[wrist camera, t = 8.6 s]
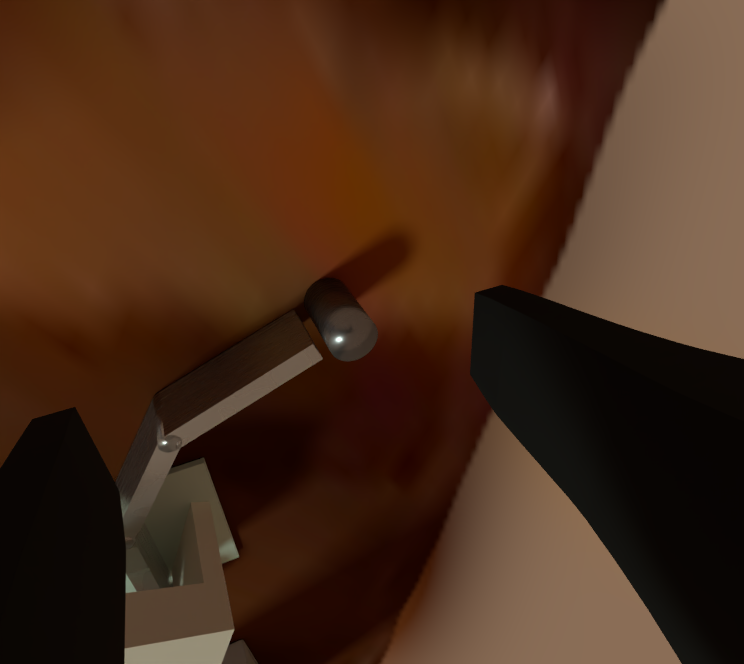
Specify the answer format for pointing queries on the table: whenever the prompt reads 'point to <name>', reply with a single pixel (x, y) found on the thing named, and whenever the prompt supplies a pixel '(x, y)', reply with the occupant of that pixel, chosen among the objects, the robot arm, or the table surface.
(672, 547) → the robot arm
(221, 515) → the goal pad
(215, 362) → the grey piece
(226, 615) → the u block
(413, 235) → the table surface
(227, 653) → the coffee box
